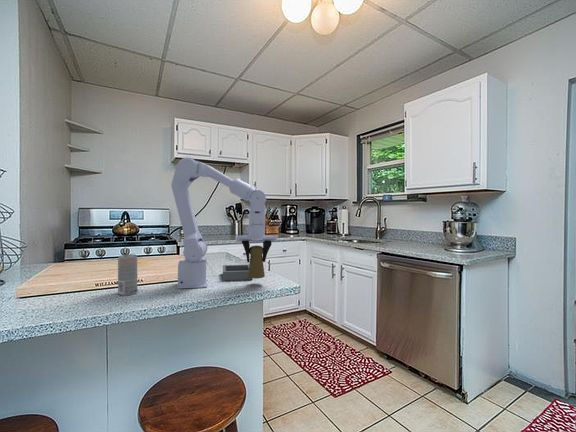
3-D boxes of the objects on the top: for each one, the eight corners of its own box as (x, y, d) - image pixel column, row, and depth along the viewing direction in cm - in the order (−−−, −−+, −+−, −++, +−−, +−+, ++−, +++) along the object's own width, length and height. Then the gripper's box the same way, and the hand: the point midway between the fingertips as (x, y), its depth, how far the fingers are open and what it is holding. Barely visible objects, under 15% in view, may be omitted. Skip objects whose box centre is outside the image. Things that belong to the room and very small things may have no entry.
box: (222, 281, 107) (223, 271, 106) (222, 273, 117) (222, 265, 117) (252, 280, 109) (252, 271, 109) (249, 272, 120) (249, 264, 120)
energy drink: (134, 289, 94) (134, 253, 94) (139, 293, 91) (139, 256, 90) (116, 292, 91) (115, 255, 90) (120, 297, 87) (120, 258, 86)
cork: (264, 278, 100) (264, 247, 99) (247, 278, 100) (247, 247, 99) (265, 273, 106) (265, 244, 105) (248, 274, 106) (248, 244, 105)
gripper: (237, 224, 96) (236, 264, 97) (279, 225, 99) (278, 263, 100) (235, 222, 103) (235, 260, 104) (275, 223, 106) (274, 259, 107)
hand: (256, 261), depth 102 cm, fingers closed on cork, 5 cm apart
